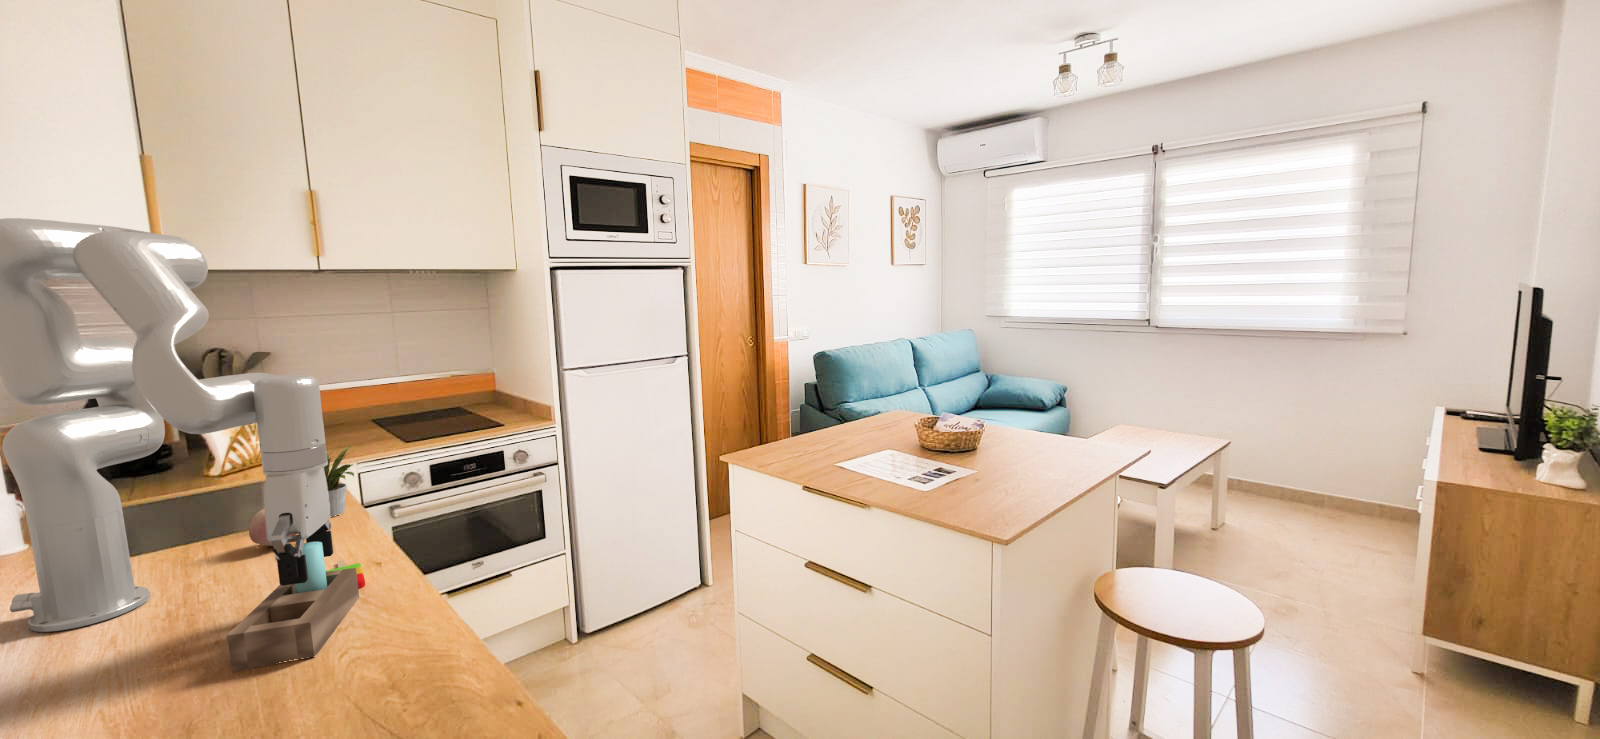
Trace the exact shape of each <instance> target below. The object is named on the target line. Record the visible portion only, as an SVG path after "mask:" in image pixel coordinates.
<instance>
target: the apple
mask: <svg viewBox="0 0 1600 739" xmlns="http://www.w3.org/2000/svg"><path fill="white" fill-rule="evenodd" d="M249 522H250V523H249V527H248V537H249V538H250V540H251V541H252V543H254V544H257V545H262V546H269V547H273V545H272V543H270V542H269V541H268V540H267V533H266V520H265V507H264V508H262V509H261V510H259V511H257V512H256V513H255V514H254V516H253V517H251V520H250V521H249ZM292 535H297V534H291V535H287V536H292Z"/></svg>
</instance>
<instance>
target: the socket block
mask: <svg viewBox="0 0 1600 739" xmlns="http://www.w3.org/2000/svg"><path fill="white" fill-rule="evenodd" d="M326 580H327V588H326V589H324V590H317V591H310V592H303V593H295V585H294V584H292V585H284V586H282V585H280V584H278V586H277V587H276V588H275V589H274V590H273V591H272V592H271V593H270V594H268V596H266V598H265V599H264V600H262V601H261V602H260V603H259V604H258V605H257V606H256V607H255V608H254V609H253V610H252V611H251V612H250V613H249V614H248V615H246V616H245V617H244V618H243V619H242V620H241V621H240V622H239V623H238V624H237V625H236V626H235V627H234V628H233V629H232V630H231V631H229V632H228V633H227V634H226V639H227V640H226V641H227V649H228V655H229V663H230V669H231V672H232V673H233V671H234V672H238V670H239V671H243V670H251V669H256V668H255V667H257V668H262V667H267V666H266V665H268V666H272V665H271V664H274V665H277V664H276V663H279V662H284V661H289V660H294V659H301V658H307V657H314V656H315V655H316V654H317V655H318V654H319V652H320V651H321V650H322V648H323V647H324V645H325V644H326V643H327V641H329V639H330V637H331V636H332V635H333V633H334V632H335V630H337V628H338V626H339V625H340V624H341V623H342V622H343V620H344V619H345V617H346V616H347V614H348V613H349V612H350V611H351V609H352V607H354V605H355V604H356V602H357V601H358V600H359V598H360V592H359V589H358V582H357V573H356V568H350V569H343V570H336V571H328V572H326ZM317 655H316V656H317ZM316 656H315V657H316ZM315 657H314V658H315Z"/></svg>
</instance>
